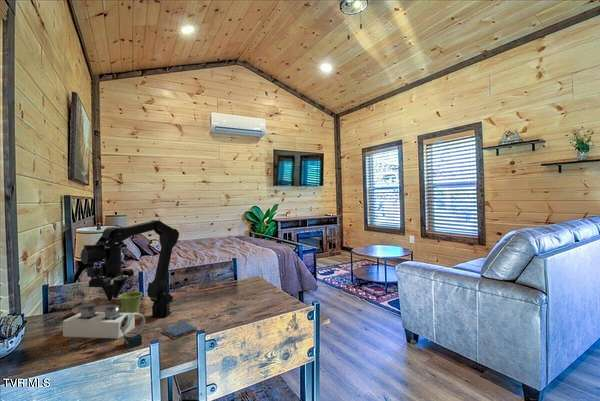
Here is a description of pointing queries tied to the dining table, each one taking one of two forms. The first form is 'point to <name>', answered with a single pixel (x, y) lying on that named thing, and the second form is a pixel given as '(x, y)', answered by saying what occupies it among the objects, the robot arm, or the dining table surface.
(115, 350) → the dining table surface
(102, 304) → the plant saucer
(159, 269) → the robot arm
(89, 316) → the peg
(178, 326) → the woven mat
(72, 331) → the sleeve block
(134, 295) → the plant pot
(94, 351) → the dining table surface
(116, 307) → the peg
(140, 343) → the watch
